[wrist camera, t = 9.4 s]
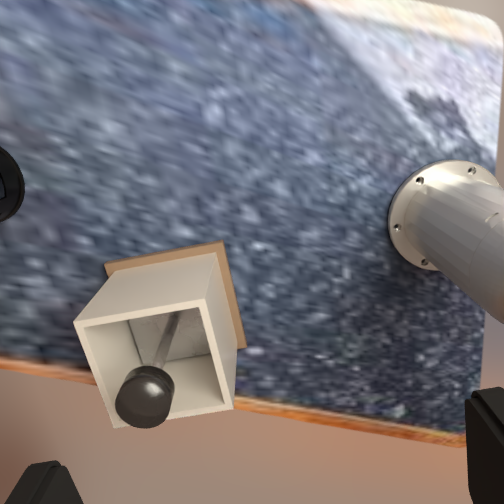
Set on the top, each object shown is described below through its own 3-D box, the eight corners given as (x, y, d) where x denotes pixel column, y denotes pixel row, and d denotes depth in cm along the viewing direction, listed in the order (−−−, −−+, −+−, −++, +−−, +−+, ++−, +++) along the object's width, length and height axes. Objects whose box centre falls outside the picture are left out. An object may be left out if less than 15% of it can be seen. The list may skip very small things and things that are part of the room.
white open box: (223, 239, 48) (213, 286, 36) (247, 345, 52) (246, 418, 40) (107, 261, 49) (58, 314, 36) (141, 363, 53) (108, 440, 41)
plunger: (206, 270, 45) (186, 344, 31) (225, 346, 49) (215, 444, 35) (120, 286, 46) (63, 365, 32) (145, 360, 49) (102, 461, 35)
